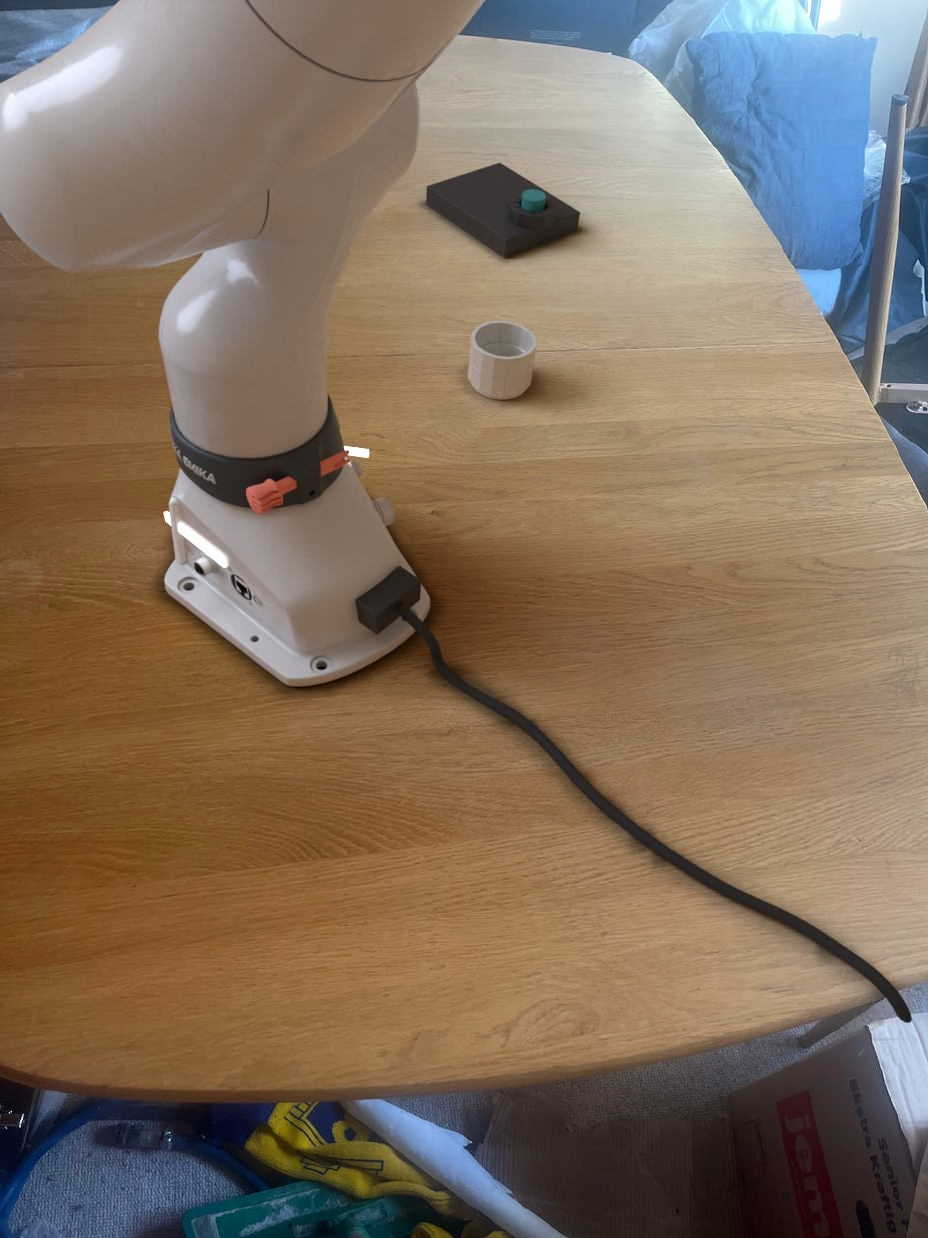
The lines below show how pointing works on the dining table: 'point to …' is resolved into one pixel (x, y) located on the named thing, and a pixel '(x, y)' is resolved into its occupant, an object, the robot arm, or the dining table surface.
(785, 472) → the dining table surface
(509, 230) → the black flat block
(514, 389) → the white cup
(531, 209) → the button
